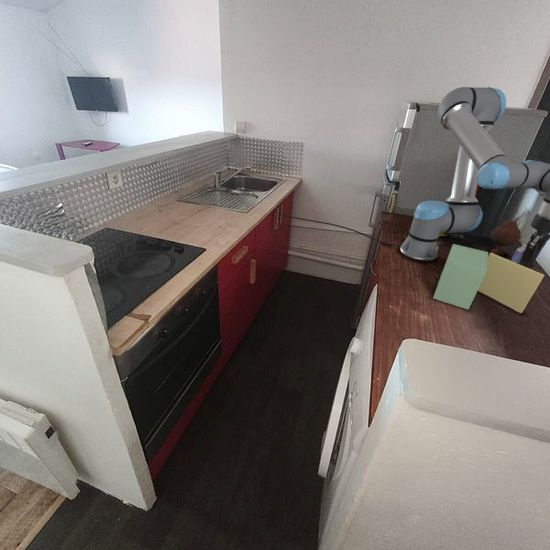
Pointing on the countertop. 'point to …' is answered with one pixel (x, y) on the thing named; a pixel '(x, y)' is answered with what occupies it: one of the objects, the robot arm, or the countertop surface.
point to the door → (509, 282)
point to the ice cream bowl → (505, 236)
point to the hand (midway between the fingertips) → (515, 282)
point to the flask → (518, 254)
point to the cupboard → (461, 276)
